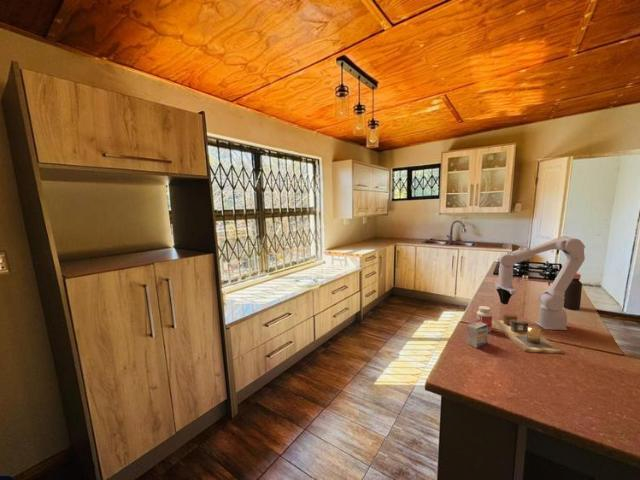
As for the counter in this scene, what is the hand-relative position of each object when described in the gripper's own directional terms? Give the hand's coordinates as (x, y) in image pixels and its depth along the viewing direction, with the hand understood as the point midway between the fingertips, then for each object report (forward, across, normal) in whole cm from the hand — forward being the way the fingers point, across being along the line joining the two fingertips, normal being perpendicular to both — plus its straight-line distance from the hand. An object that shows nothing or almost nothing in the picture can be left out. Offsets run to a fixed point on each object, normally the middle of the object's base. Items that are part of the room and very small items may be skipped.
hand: (504, 303), depth 132 cm
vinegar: (+10, -20, +46) cm, 51 cm away
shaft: (+8, +10, 0) cm, 12 cm away
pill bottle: (+10, +10, -14) cm, 20 cm away
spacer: (+8, +23, 0) cm, 24 cm away
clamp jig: (+9, +16, 0) cm, 18 cm away
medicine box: (+10, +24, -23) cm, 35 cm away
